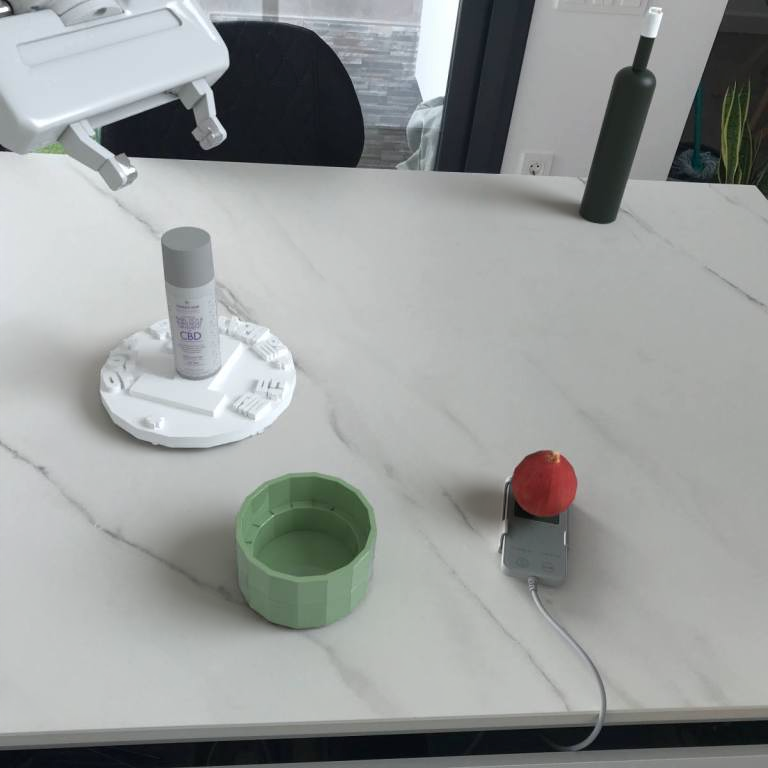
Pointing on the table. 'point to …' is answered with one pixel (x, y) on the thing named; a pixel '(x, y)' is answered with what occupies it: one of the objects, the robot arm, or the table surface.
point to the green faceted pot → (305, 549)
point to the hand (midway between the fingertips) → (174, 163)
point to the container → (191, 302)
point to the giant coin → (198, 387)
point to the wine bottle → (621, 129)
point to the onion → (544, 483)
